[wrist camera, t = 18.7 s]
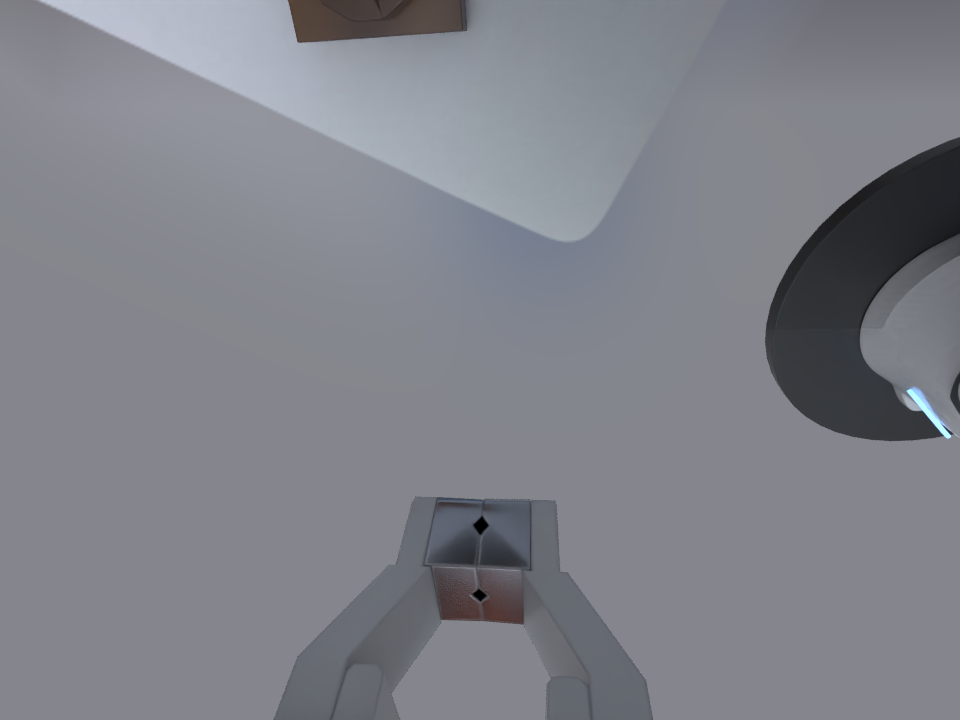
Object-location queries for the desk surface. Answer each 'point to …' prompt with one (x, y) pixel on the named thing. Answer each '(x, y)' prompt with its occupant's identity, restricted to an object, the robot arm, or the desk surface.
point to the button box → (374, 18)
